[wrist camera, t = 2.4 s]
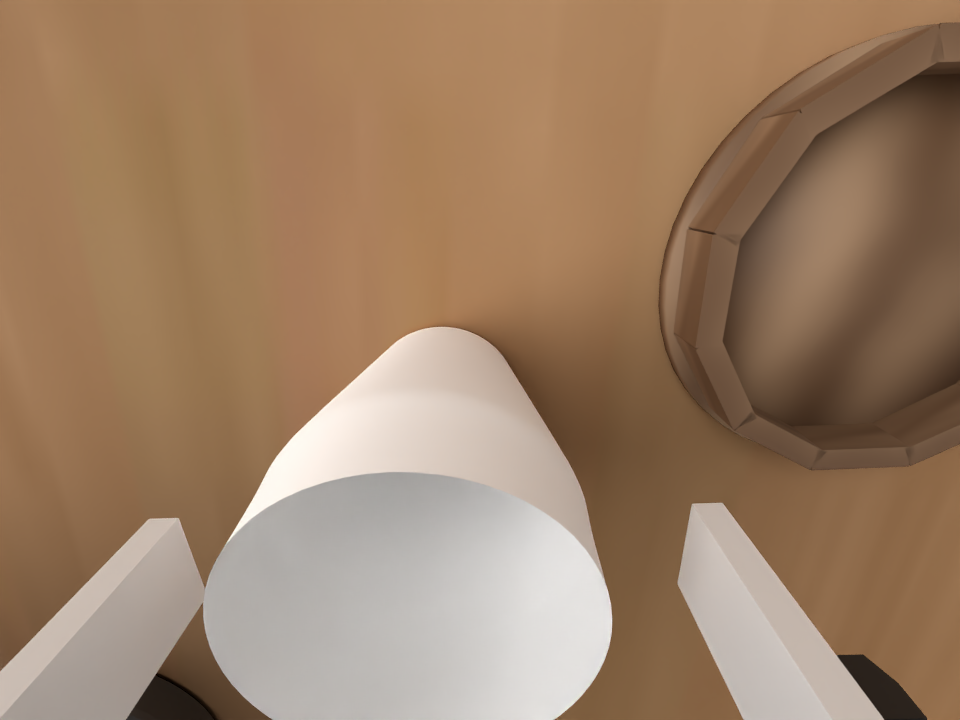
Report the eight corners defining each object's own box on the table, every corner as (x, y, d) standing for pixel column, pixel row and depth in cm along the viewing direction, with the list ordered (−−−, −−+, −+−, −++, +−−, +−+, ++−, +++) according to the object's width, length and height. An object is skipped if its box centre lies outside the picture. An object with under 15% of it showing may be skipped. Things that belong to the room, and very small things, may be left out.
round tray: (640, 449, 22) (662, 485, 19) (687, 39, 16) (730, 11, 13) (982, 436, 22) (1050, 470, 19) (1167, 21, 16) (1305, -11, 13)
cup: (353, 282, 19) (177, 429, 8) (561, 317, 19) (681, 499, 8) (340, 460, 22) (205, 747, 11) (518, 485, 23) (563, 776, 12)
